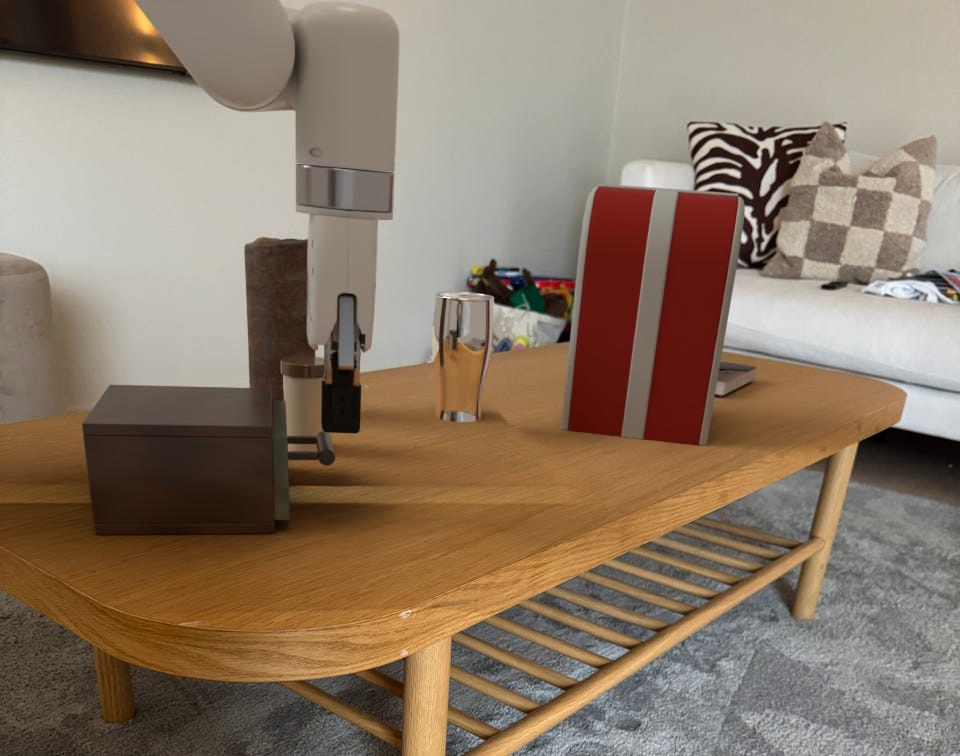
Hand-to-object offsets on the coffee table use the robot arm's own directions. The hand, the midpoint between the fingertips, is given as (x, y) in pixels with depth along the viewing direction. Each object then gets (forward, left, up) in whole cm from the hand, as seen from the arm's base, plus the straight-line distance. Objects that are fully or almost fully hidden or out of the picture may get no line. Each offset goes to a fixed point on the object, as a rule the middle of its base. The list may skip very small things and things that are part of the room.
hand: (340, 430), depth 82 cm
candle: (-5, +28, -7) cm, 29 cm away
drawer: (-9, 0, -6) cm, 11 cm away
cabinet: (-13, 0, -7) cm, 14 cm away
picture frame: (+55, +62, -7) cm, 83 cm away
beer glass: (+15, +28, -7) cm, 33 cm away
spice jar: (-2, +13, -7) cm, 15 cm away
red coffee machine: (+39, +33, -7) cm, 52 cm away
